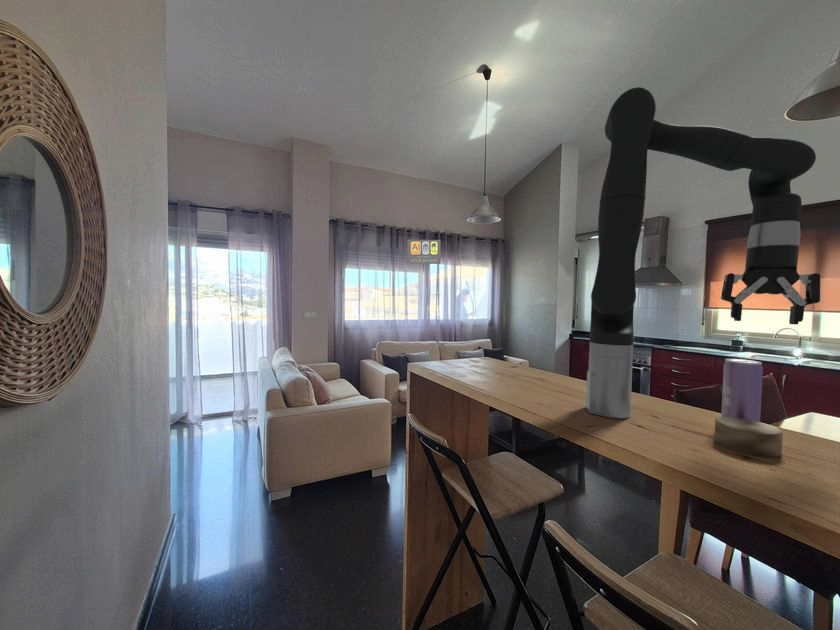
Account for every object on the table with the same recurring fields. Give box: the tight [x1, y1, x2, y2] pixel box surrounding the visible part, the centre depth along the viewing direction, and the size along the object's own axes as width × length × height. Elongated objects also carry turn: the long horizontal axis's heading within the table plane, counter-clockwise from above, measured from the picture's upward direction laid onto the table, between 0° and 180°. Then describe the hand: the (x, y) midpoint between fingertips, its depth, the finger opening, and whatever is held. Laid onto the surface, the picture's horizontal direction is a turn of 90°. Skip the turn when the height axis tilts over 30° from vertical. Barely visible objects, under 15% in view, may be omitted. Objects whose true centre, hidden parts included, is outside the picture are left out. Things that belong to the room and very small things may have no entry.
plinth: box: [713, 416, 784, 458], centre depth 62 cm, size 9×9×4 cm
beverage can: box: [720, 358, 764, 422], centre depth 71 cm, size 6×6×15 cm
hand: (764, 322), depth 69 cm, fingers open, 8 cm apart
